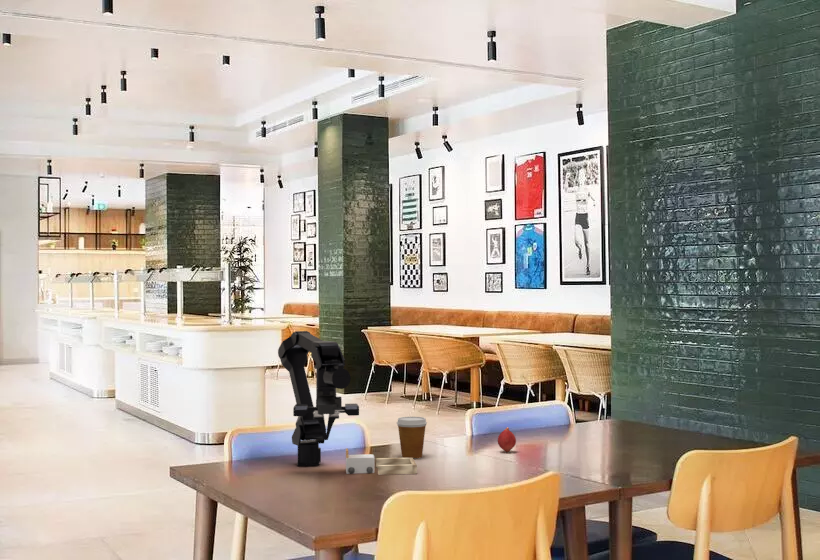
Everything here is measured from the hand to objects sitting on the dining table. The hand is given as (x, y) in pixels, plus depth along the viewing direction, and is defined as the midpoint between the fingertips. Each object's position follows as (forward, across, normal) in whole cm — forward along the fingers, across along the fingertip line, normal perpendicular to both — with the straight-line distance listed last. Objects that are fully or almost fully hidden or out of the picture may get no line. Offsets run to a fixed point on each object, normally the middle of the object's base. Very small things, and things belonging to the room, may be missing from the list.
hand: (326, 439), depth 270 cm
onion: (+9, +58, +26) cm, 64 cm away
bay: (+9, +20, 0) cm, 22 cm away
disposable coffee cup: (+9, +27, +21) cm, 35 cm away
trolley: (+9, +10, 0) cm, 13 cm away
